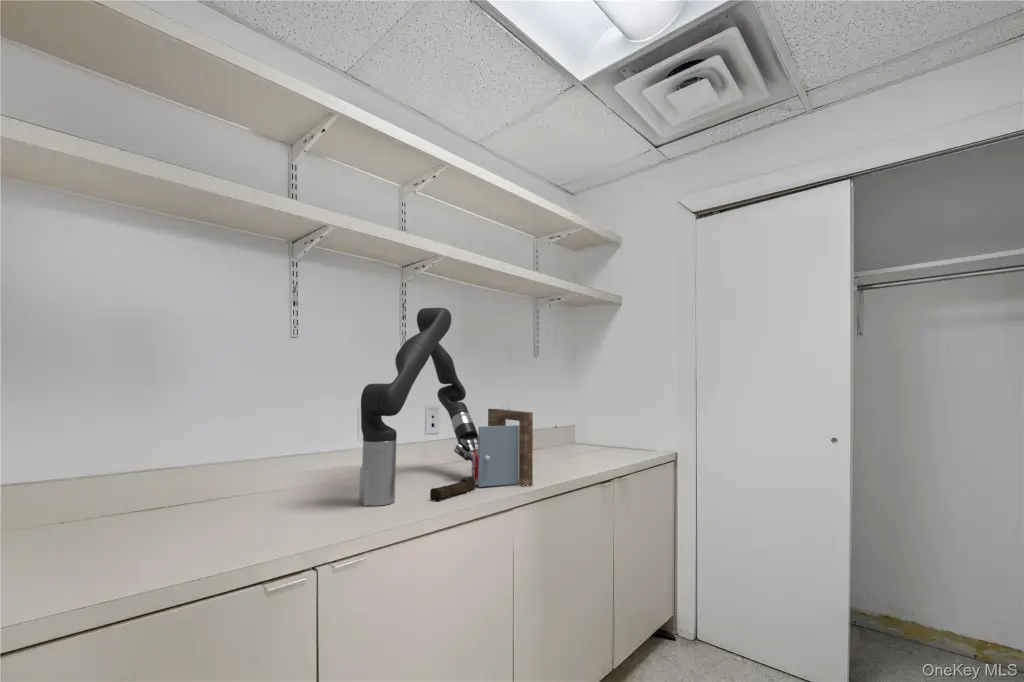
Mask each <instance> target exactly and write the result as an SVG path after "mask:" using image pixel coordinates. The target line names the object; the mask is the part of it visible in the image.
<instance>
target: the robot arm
mask: <svg viewBox="0 0 1024 682" xmlns="http://www.w3.org/2000/svg"><path fill="white" fill-rule="evenodd" d="M416 324H417V327H418V328H417V329H418V331H419V332H418V333H417V334H415V335H413V336H411V337H410V338H408V339H407V340H406V341H405V342H404V343H403V345H402V346H401V347H400V349H399V350H398V351H397V353H396V355H395V359H394V363H395V367H396V372H397V376H396V377H395V378H394V380H393V381H392V382H389V383H368V384H367V385H366V386H365V387H364V388H363V390H362V392H361V396H360V419H361V420H360V428H361V429H360V430H361V433H362V459H361V460H362V461H361V463H362V464H361V465H362V466H360V468H359V491H358V492H359V493H358V495H359V497H358V502H359V503H360V504H362V506H364V507H366V506H374V507H375V506H385V505H390V504H394V503H395V501H396V475H397V474H396V471H397V470H396V469H397V437H398V434H397V430H396V429H395V428H392V427H391V426H389V425H387V424H386V423H385V422H384V421H383V418H382V417H393V416H396V415H397V414H399V413H400V411H401V410H402V409H403V407H404V405H405V403H406V401H407V398H408V396H409V394H410V392H411V389H412V388H413V385H414V383H415V382H416V381H417V378H418V376H419V374H420V373H421V371H422V370H423V368H424V367H425V365H426V364H427V362H428V360H429V358H430V357H431V360H432V362H433V365H434V368H435V372H436V376H437V379H438V382H439V383H440V384H441V385H446V386H443V387H441V388H439V389H438V391H437V399H438V401H439V402H440V404H441V405H442V406H443V407H444V408H445V410H446V411H447V413H448V415H449V416H448V417H449V419H450V421H451V425H452V429H453V432H454V434H455V437H456V440H457V441H456V442H458V443H457V445H456V446H455V448H454V450H453V451H454V452H455V453H456V454H457V455H458V456H459V457H461V458H463V459H464V460H465V461H470V462H472V454H473V451H474V450H475V449H474V448H475V447H478V435H479V432H478V430H477V429H476V426H475V424H474V421H473V418H472V416H471V415H470V412H469V409H468V407H467V405H466V403H464V402H463V401H464V399H465V398H466V396H467V393H466V392H467V391H466V389H465V387H464V386H463V384H462V383H461V381H460V379H459V378H458V375H457V371H456V368H455V363H454V360H453V358H452V357H451V355H450V354H449V352H448V351H447V350H446V349H445V348H444V347H443V346H442V345H441V344H440V342H441V340H442V339H443V338H444V337H445V336H446V334H447V333H448V332H449V330H450V327H451V324H452V314H451V312H450V311H449V309H448V308H446V307H425V308H421V309H419V311H418V313H417V315H416Z"/></svg>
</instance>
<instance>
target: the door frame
mask: <svg viewBox="0 0 1024 682" xmlns="http://www.w3.org/2000/svg"><path fill="white" fill-rule="evenodd" d="M533 414H534V413H533V412H531V411H523V410H522V411H521V410H514V409H513V410H512V409H503V408H487V426H507V424H506V423H507V421H506V420H509V421H516V422H518V426H519V483H518V485H519V484H521V485H524V486H527V485H532V486H533V482H534V481H533V477H534V476H533V473H534V471H533V468H534V467H533V459H534V458H533V456H534V454H533V453H534V451H533V448H534V445H533V441H534V440H533V438H534V437H533V436H534V435H533V432H534V428H533V425H534V424H533V423H534V419H533V418H534V415H533ZM521 485H520V486H521ZM524 486H523V487H524ZM527 487H528V486H527Z"/></svg>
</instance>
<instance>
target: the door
mask: <svg viewBox="0 0 1024 682" xmlns="http://www.w3.org/2000/svg"><path fill="white" fill-rule="evenodd" d="M516 484H518V485H519V424H518V425H517V424H516V425H515V424H514V425H506V426H488V425H487V426H485V425H484V426H478V486H477V487H478V488H481V487H493V486H503V485H505V486H506V485H516Z"/></svg>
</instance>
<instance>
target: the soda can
mask: <svg viewBox="0 0 1024 682" xmlns="http://www.w3.org/2000/svg"><path fill="white" fill-rule="evenodd" d="M474 449H475V450H474V451H473V454H472V461H471V477H473V478H474V480H475V486H476V485H477V487H478V447H475V448H474Z"/></svg>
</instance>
